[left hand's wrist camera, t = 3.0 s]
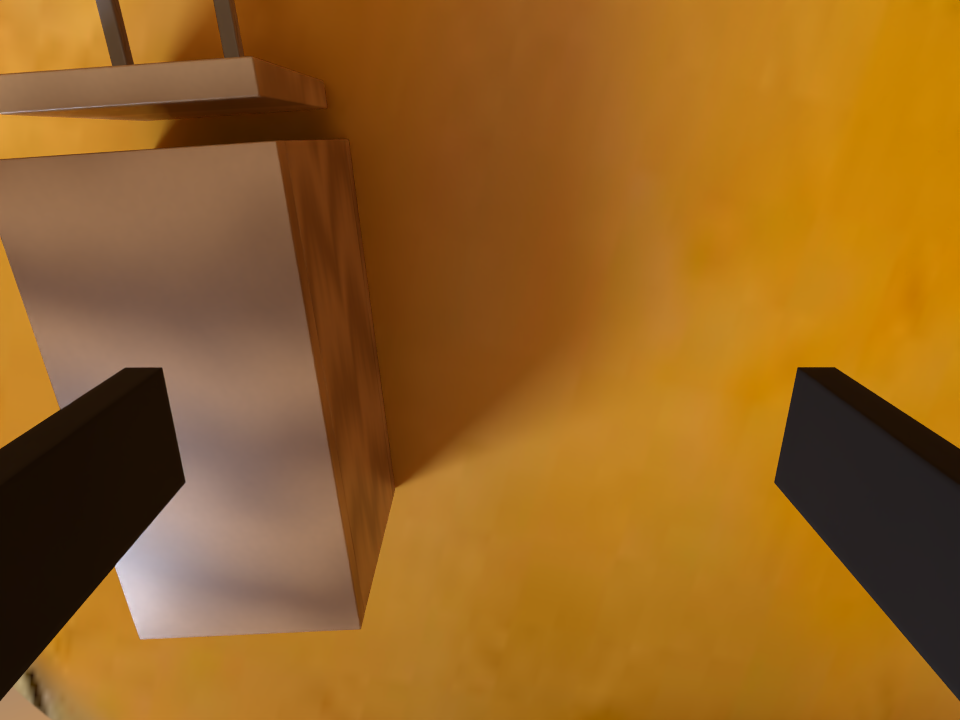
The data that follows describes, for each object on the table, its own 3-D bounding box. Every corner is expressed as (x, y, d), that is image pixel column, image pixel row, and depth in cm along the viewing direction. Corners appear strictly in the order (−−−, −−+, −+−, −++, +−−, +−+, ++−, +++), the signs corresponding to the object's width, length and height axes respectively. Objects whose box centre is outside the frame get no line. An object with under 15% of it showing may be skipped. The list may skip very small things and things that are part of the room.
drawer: (100, -64, 26) (-92, -165, 17) (301, -80, 25) (208, -190, 17) (226, 451, 35) (141, 555, 26) (375, 443, 34) (339, 546, 26)
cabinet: (151, 152, 30) (-27, 161, 19) (348, 139, 29) (276, 140, 19) (235, 498, 37) (139, 640, 27) (395, 490, 37) (361, 629, 26)
